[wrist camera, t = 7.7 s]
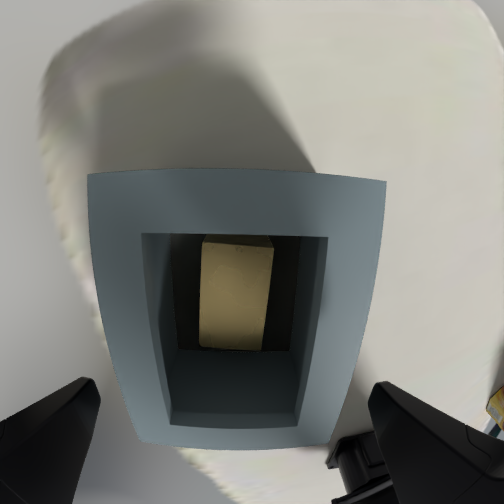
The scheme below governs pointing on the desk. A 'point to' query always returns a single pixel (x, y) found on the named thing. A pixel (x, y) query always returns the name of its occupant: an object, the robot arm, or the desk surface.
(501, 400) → the candy box
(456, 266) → the desk surface
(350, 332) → the blue-grey open box
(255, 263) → the tan rectangular block
